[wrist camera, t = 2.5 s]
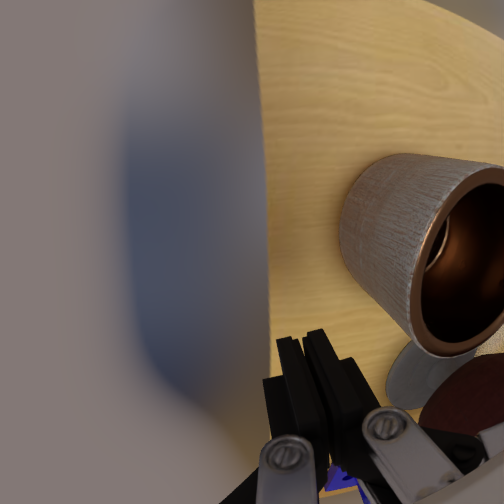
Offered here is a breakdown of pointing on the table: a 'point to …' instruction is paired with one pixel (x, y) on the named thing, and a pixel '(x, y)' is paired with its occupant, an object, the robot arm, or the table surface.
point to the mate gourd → (449, 389)
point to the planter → (430, 247)
